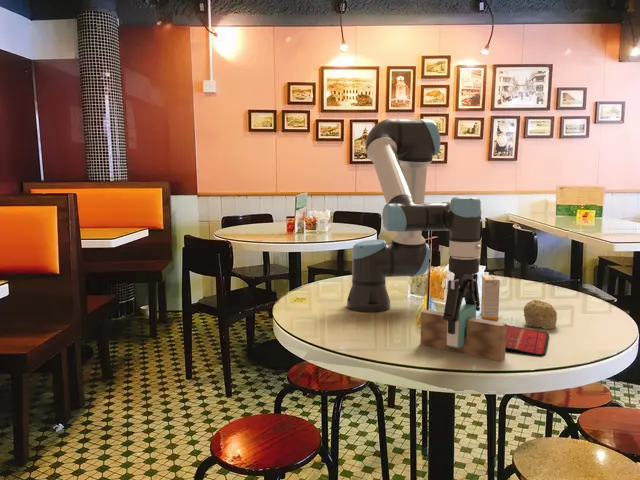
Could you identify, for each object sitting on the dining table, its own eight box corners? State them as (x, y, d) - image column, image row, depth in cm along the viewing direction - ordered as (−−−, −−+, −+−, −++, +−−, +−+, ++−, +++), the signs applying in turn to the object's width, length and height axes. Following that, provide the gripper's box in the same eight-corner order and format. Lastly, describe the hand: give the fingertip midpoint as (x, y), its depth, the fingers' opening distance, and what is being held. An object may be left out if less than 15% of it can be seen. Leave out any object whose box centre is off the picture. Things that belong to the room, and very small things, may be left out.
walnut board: (420, 343, 141) (421, 311, 140) (425, 341, 143) (426, 309, 142) (501, 361, 127) (502, 326, 126) (505, 358, 130) (506, 323, 129)
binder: (480, 341, 137) (492, 321, 156) (480, 350, 137) (491, 329, 156) (546, 353, 130) (549, 331, 149) (545, 362, 130) (549, 338, 149)
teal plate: (458, 348, 130) (459, 313, 129) (447, 346, 132) (448, 311, 130) (474, 337, 138) (476, 304, 137) (464, 335, 140) (465, 303, 139)
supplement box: (498, 320, 164) (500, 280, 162) (483, 319, 164) (484, 279, 163) (495, 313, 172) (497, 275, 170) (480, 312, 173) (481, 274, 171)
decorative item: (555, 337, 158) (554, 307, 163) (559, 325, 150) (558, 294, 155) (522, 335, 161) (522, 305, 166) (524, 323, 153) (524, 293, 158)
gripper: (459, 264, 121) (457, 354, 123) (494, 253, 139) (491, 331, 142) (430, 261, 125) (428, 348, 128) (467, 250, 144) (465, 326, 146)
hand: (461, 339), depth 135 cm, fingers closed on teal plate, 11 cm apart
